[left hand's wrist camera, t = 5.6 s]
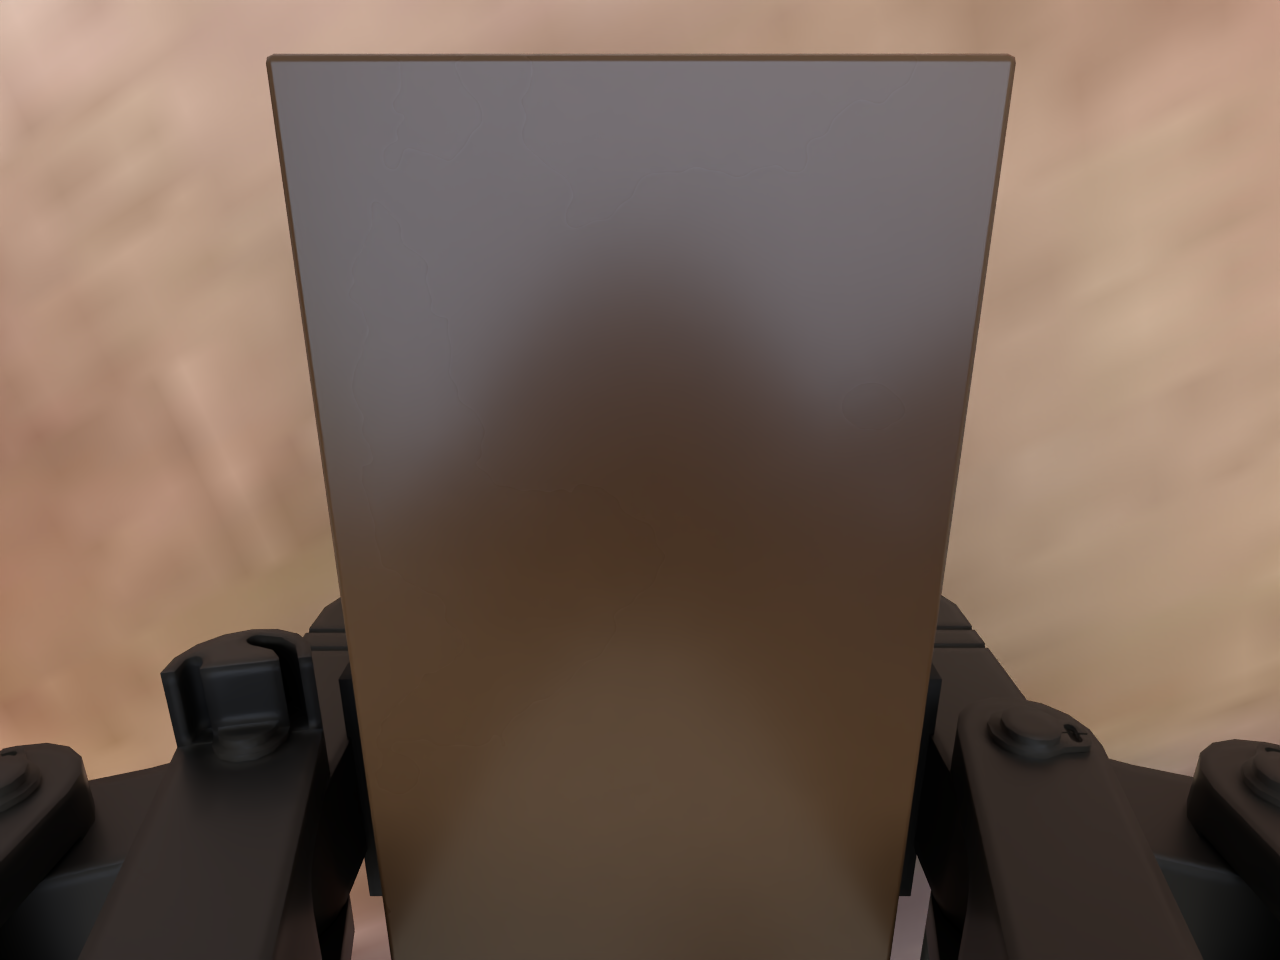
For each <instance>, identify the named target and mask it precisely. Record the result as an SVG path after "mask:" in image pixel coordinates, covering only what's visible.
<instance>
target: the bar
mask: <svg viewBox="0 0 1280 960" xmlns="http://www.w3.org/2000/svg"><path fill="white" fill-rule="evenodd" d="M1015 64H1016V62H1015V57H1013V56H1011V55H1009V54H273V55H271V56H269V57H267V61H266V66H267V73H268V81H269V88H270V95H271V102H272V109H273V116H274V123H275V131H276V138H277V145H278V152H279V159H280V166H281V174H282V181H283V188H284V195H285V202H286V209H287V216H288V224H289V231H290V238H291V245H292V252H293V259H294V266H295V274H296V281H297V288H298V295H299V302H300V309H301V317H302V324H303V331H304V338H305V345H306V352H307V359H308V367H309V374H310V381H311V388H312V395H313V402H314V410H315V417H316V424H317V431H318V438H319V445H320V452H321V460H322V467H323V474H324V481H325V488H326V495H327V503H328V510H329V517H330V524H331V531H332V538H333V545H334V553H335V560H336V567H337V574H338V581H339V588H340V596H341V603H342V610H343V617H344V624H345V631H346V638H347V646H348V653H349V660H350V667H351V674H352V681H353V689H354V696H355V703H356V710H357V717H358V724H359V731H360V739H361V746H362V753H363V760H364V767H365V774H366V782H367V789H368V796H369V803H370V810H371V817H372V824H373V832H374V839H375V846H376V853H377V860H378V867H379V875H380V882H381V889H382V896H383V903H384V910H385V917H386V925H387V932H388V939H389V946H390V953H391V960H890V956H891V949H892V942H893V935H894V928H895V921H896V913H897V906H898V899H899V892H900V885H901V878H902V871H903V863H904V856H905V849H906V842H907V835H908V828H909V821H910V813H911V806H912V799H913V792H914V785H915V778H916V771H917V764H918V756H919V749H920V742H921V735H922V728H923V721H924V714H925V706H926V699H927V692H928V685H929V678H930V671H931V664H932V657H933V649H934V642H935V635H936V628H937V621H938V614H939V607H940V599H941V592H942V585H943V578H944V571H945V564H946V557H947V549H948V542H949V535H950V528H951V521H952V514H953V507H954V500H955V492H956V485H957V478H958V471H959V464H960V457H961V450H962V442H963V435H964V428H965V421H966V414H967V407H968V400H969V392H970V385H971V378H972V371H973V364H974V357H975V350H976V343H977V335H978V328H979V321H980V314H981V307H982V300H983V293H984V285H985V278H986V271H987V264H988V257H989V250H990V243H991V236H992V228H993V221H994V214H995V207H996V200H997V193H998V186H999V178H1000V171H1001V164H1002V157H1003V150H1004V143H1005V136H1006V128H1007V121H1008V114H1009V107H1010V100H1011V93H1012V86H1013V79H1014V71H1015Z"/></svg>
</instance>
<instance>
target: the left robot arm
mask: <svg viewBox="0 0 1280 960" xmlns="http://www.w3.org/2000/svg"><path fill="white" fill-rule="evenodd" d="M160 674H161V678H162V683H163V687H164V691H165V696H166V700H167V704H168V709H169V713H170V717H171V722H172V726H173V730H174V734H175V739H176V743H177V749H176V752H175V754H174V756H173V758H172V760H171V762H170V763H168V764H164V765H160V766H157V767H153V768H149V769H144V770H139V771H134V772H129V773H124V774H119V775H114V776H109V777H104V778H99V779H94V780H90V781H88V778H87V775H86V771H85V768H84V764H83V760H82V757H81V756H80V755H79V754H78V753H76V752H75V751H74V750H73V749H72V748H70V747H68V746H62V745H56V744H50V743H42V744H32V745H22V746H14V747H9V748H5V749H2V750H1V751H0V960H351V955H352V947H353V938H354V930H355V929H354V921H353V914H352V907H351V901H350V895H349V894H350V891H351V889H352V886H353V884H354V881H355V879H356V876H357V874H358V872H359V869H360V867H361V864H362V862H363V859H364V858H365V865H366V872H367V879H368V885H369V892H370V896H382V889H381V882H380V875H379V867H378V860H377V853H376V846H375V839H374V832H373V824H372V817H371V810H370V803H369V796H368V789H367V782H366V774H365V767H364V760H363V753H362V746H361V739H360V731H359V724H358V717H357V710H356V703H355V696H354V689H353V681H352V674H351V667H350V660H349V653H348V646H347V638H346V631H345V624H344V617H343V610H342V603H341V597H340V598H339V599H337V600H336V601H334V602H333V603H331V604H329V605H328V606H326V607H325V608H324V609H323V611H322V612H321V613H320V615H319V616H318V618H317V619H316V620H315V622H314V623H313V624H312V626H311V627H310V628H309V633H306V634H305V635H304V637H301V636H300V635H299V634H296V633H292V632H288V631H284V630H279V629H252V630H247V631H241V632H236V633H231V634H226V635H222V636H219V637H217V638H214V639H211V640H208V641H206V642H203V643H200V644H197V645H196V646H194V647H192V648H190V649H189V650H187V651H185V652H184V653H182V654H180V655H179V656H177V657H175V658H174V659H173V660H172V661H171V662H170V663H169V664H168V665H167V667H166V668H165V669H164V670H163V671H162V672H161V673H160ZM916 855H917V856H918V859H919V861H920V864H921V866H922V868H923V871H924V873H925V876H926V878H927V881H928V883H929V886H930V888H931V894H930V901H929V907H928V914H927V920H926V926H925V933H924V939H923V945H922V952H921V958H920V960H1280V745H1276V744H1271V743H1267V742H1257V741H1247V740H1237V739H1233V740H1227V741H1221V742H1215V743H1212V744H1211V745H1209V746H1208V747H1207V748H1206V749H1205V750H1203V751H1202V752H1201V753H1200V756H1199V759H1198V763H1197V766H1196V770H1195V774H1194V777H1190V776H1185V775H1180V774H1175V773H1170V772H1165V771H1160V770H1155V769H1150V768H1145V767H1140V766H1135V765H1130V764H1127V763H1123V762H1119V761H1115V760H1112V759H1108V756H1107V754H1106V752H1105V750H1104V748H1103V746H1102V745H1101V743H1100V742H1099V741H1098V740H1097V738H1096V737H1095V736H1094V735H1093V733H1092V732H1091V731H1090V729H1088V728H1087V727H1085V726H1084V725H1082V724H1081V723H1080V722H1078V721H1077V720H1075V719H1074V718H1072V717H1071V716H1069V715H1068V714H1066V713H1063V712H1061V711H1058V710H1056V709H1054V708H1051V707H1049V706H1047V705H1044V704H1042V703H1037V702H1032V701H1028V700H1026V698H1025V697H1024V696H1023V694H1022V693H1021V692H1020V690H1019V689H1018V688H1017V686H1016V685H1015V684H1014V682H1013V681H1012V680H1011V678H1010V677H1009V676H1008V674H1007V673H1006V671H1005V670H1004V669H1003V667H1002V666H1001V665H1000V663H999V662H998V661H997V659H996V658H995V657H994V655H993V654H992V653H991V651H990V650H989V649H988V648H985V643H984V642H983V640H982V639H981V638H980V636H979V635H978V634H977V632H976V631H975V630H972V626H971V624H970V623H969V622H968V620H967V619H966V617H965V616H964V615H963V613H962V612H961V611H960V609H959V608H958V607H957V605H956V604H954V603H953V602H951V601H950V600H948V599H946V598H945V597H943V596H942V595H941V599H940V607H939V614H938V621H937V628H936V635H935V642H934V649H933V657H932V664H931V671H930V678H929V685H928V692H927V699H926V706H925V714H924V721H923V728H922V735H921V742H920V749H919V756H918V764H917V771H916V778H915V785H914V792H913V799H912V806H911V813H910V821H909V828H908V835H907V842H906V849H905V856H904V863H903V871H902V878H901V885H900V892H899V896H911V889H912V882H913V875H914V869H915V862H916Z"/></svg>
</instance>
